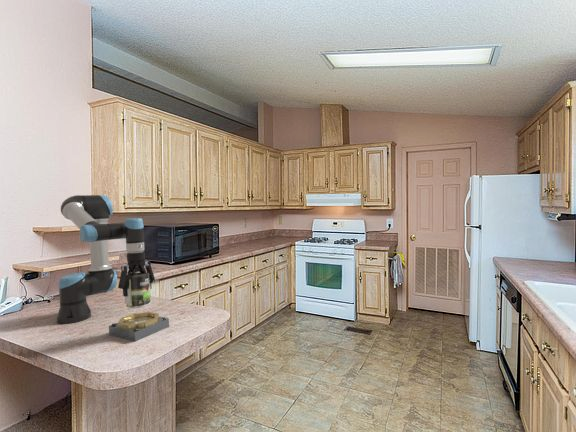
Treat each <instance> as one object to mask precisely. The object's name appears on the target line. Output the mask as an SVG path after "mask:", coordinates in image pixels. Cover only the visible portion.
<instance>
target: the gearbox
mask: <svg viewBox="0 0 576 432" xmlns="http://www.w3.org/2000/svg"><path fill="white" fill-rule="evenodd" d="M169 327H170V319H169V318H168V317H166V316H164V317H163V316H160V313H158V312H153V311H146V312H138V313H137V312H136V313H131V314H129V315H126V316H123V317H121V318H120V319H119V321H118V322H115V323H112V324H110V325H108V334H109V336H112V337H117V338H120V339H125V340H129V341H132V342H138V341H139V340H142V339H144V338H146V337H149V336H151V335H154V334H156V333H158V332H160V331H163V330H165V329H167V328H169Z"/></svg>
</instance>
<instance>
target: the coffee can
mask: <svg viewBox="0 0 576 432" xmlns="http://www.w3.org/2000/svg"><path fill="white" fill-rule="evenodd" d="M126 279H129V287H128V289H130V304H127V303H125V304H126V308H127V309H138V308H139V309H140V308H144V307H147V306H150V304H151V303H152V302H151V297H150V283H149V273H146V274H141V273H140V272H137V273H135V274H134V275H133V277H127V276H126Z"/></svg>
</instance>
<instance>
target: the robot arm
mask: <svg viewBox="0 0 576 432" xmlns="http://www.w3.org/2000/svg"><path fill="white" fill-rule="evenodd" d="M113 212H114V208H113V203H112V201H111V199H110V198H109V196H107V195H104V194H103V195H101V194H100V195H99V194H96V195H95V194H94V195H93V194H90V195H88V194H87V195H81V194H79V195H78V194H77V195H73V196H69V197H67V198H66V199H64V201H63V202H62V204H61V205H60V213H61V215H62V216H63V217H64V218H65V219H67V220H69V221H70V222H72V223H73V224H74V225H75V226H76V227H77V228H78V230H79V238H80V240H81V241H82V242H84V243H87V242H89V251H90V252H89V253H90V268H88V269H87V270H88V272H87V274H86V272H84V271H78V272H74V273H70V274H66V275H64V276H62V277H60V278H59V280H58V292H59V296H58V297H59V307H58V308H59V309H58V312H57V315H56V323H57V324H60V325H61V324H63V325H65V324H73V323H77V322H81V321H84V320H87V319H89V318H91V317H92V310H91V309H90V306H89V304H88V302H87V301H88V300H87V297H89V296H94V295H98V294H104V293H108V292H112V291H113V290H114V289H115V288H116V287H118V289H120V290H121V289H122V296H123V297H124V303H125V304H126V303H127V304H130V289H128V287H129V279H126V276H127V277H133V275H134V274H135V273H141V274H146V273H149V283H150V298H152V293H151V292H152V291H151V290H152V289H153V287H152V284H153V282H154V281H155V280H156V278H155V275H154V271H153V268H152V262H151V261H150V260H149V261H148V260H146V253H145V232H144V230H145V228H144V220H143V218H141V217H137V218H135V217H133V218H126V219H125V220H124V221H123V222H113V223H111V222H110V223H108V221H109V220H110V217H111V216H112V215H113V214H114V213H113ZM123 239H125V249H126V250H125V251H126V252H127V253H126V260H127V264H126V265H121V267H120V270H121V272H120V277H119V281H118V275H117V271H116V269H113V266H112V265H110V259H109V257H110V255H109V244H108V241H110V240H111V241H114V240H123ZM117 284H118V285H117ZM127 304H126V305H127Z"/></svg>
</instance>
